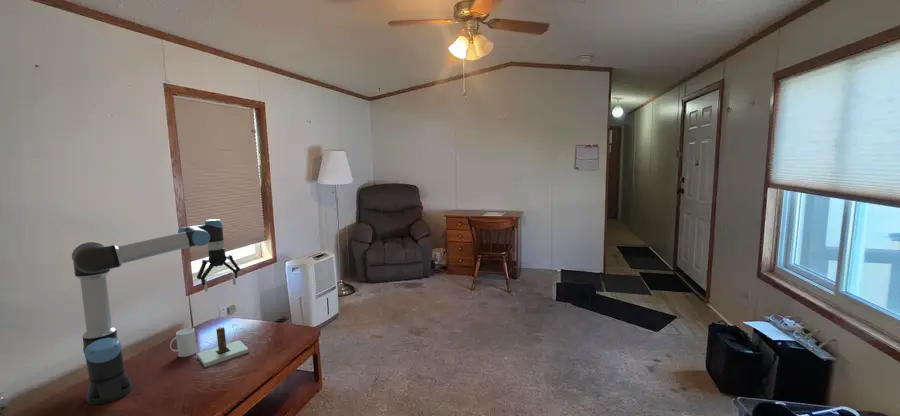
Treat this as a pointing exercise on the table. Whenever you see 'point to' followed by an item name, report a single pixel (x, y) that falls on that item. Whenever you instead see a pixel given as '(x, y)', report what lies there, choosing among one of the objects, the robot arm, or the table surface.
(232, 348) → the socket board
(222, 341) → the peg
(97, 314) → the robot arm
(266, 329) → the table surface
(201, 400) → the table surface
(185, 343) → the mug
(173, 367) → the table surface
